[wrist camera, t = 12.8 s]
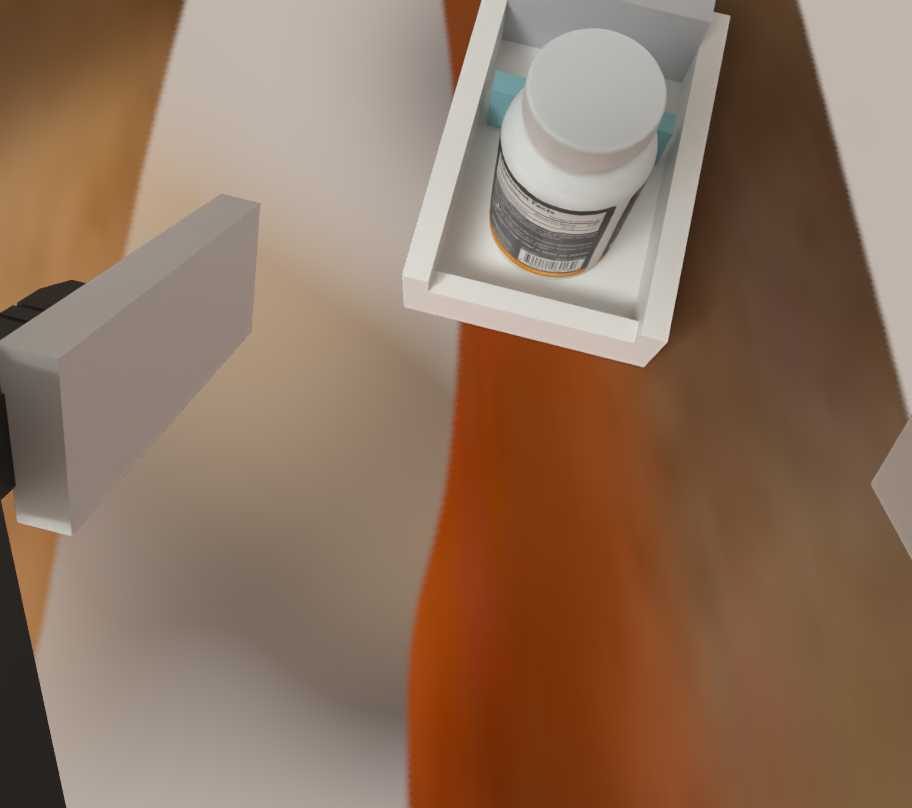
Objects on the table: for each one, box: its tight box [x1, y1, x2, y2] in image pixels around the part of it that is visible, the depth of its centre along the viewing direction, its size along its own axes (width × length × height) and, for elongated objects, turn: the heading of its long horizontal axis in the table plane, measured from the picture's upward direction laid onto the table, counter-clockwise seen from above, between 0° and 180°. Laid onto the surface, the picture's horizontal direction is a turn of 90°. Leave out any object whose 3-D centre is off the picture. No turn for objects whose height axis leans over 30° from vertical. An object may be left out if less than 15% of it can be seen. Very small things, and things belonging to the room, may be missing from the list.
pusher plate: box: [487, 71, 677, 166], centre depth 35 cm, size 3×8×2 cm, turn 76°
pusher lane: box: [402, 0, 730, 367], centre depth 34 cm, size 16×11×5 cm
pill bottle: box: [489, 28, 667, 280], centre depth 30 cm, size 6×6×10 cm
